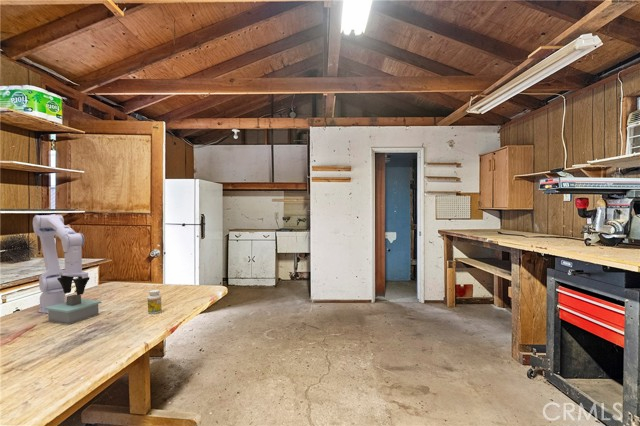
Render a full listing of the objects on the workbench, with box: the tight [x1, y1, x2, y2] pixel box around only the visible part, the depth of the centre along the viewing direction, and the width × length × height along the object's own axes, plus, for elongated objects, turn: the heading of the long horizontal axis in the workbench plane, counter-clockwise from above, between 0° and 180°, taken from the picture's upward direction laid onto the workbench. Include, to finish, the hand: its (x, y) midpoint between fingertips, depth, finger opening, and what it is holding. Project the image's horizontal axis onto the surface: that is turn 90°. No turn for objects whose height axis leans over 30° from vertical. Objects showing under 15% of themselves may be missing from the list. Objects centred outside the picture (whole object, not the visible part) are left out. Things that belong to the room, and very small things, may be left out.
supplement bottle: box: [147, 289, 162, 315], centre depth 139 cm, size 5×5×10 cm
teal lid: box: [45, 293, 102, 313], centre depth 132 cm, size 14×14×4 cm
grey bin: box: [47, 304, 99, 325], centre depth 132 cm, size 12×12×5 cm
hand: (73, 293), depth 132 cm, fingers open, 7 cm apart
